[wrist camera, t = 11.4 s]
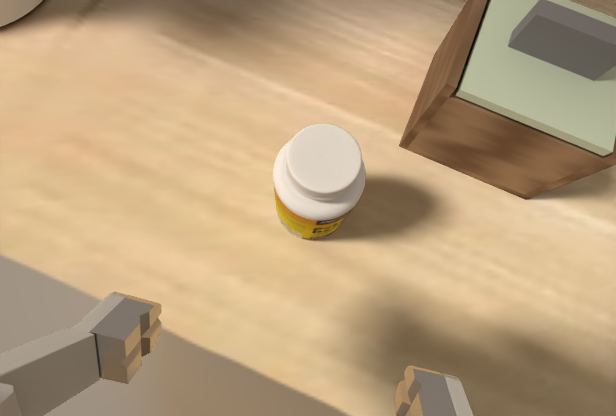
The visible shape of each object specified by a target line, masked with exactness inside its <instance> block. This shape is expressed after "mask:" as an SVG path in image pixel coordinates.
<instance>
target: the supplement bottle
mask: <svg viewBox="0 0 616 416" xmlns="http://www.w3.org/2000/svg"><path fill="white" fill-rule="evenodd" d="M365 181H366V173H365V167H364V163H363V160H362V155H361V150H360V147H359V145H358V143H357V142H356V140H355V139H354V137H353V136H352V135H351V134H350V133H349V132H347V131H346V130H344V129H343V128H341V127H338V126H336V125H332V124H326V123H320V124H314V125H310V126H308V127H305V128H304V129H302V130H300V131H299V132H298V133H297V134H296V135H295V136H294V137H293V139H291V140H290V141H289V142H288V143H286V144H285V145H284V147H283V148H282V149H281V150H280V152H279V153H278V155H277V158H276V160H275V163H274V169H273V183H274V191H275V200H276V209H277V214H278V218H279V220H280V222H281V224H282V225H283V227H284V228H285V229H286V230H287V231H288V232H289V233H291V234H292V235H294V236H296V237H298V238H301V239H305V240H317V239H321V238H324V237H326V236H328V235H329V234H331V233H332V232H333V231H334V230H335V229H336V228H337V227H338V226H339V225H340V224H341V222H342V221H343V220H344V219H345V217H346V216H347V215H348V214H349V212H350V211H351V210H352V209H353V207H354V206H355V205H356V203H357V202H358V200H359V199H360V197H361V195H362V193H363V190H364V187H365Z"/></svg>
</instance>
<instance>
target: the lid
mask: <svg viewBox="0 0 616 416" xmlns="http://www.w3.org/2000/svg"><path fill="white" fill-rule="evenodd" d="M455 96H458V97H460V98H463V99H465V100H468V101H470V102H473V103H475V104H477V105H480V106H482V107H485V108H487V109H490V110H492V111H495V112H497V113H499V114H502V115H504V116H507V117H509V118H512V119H514V120H517V121H519V122H521V123H524V124H526V125H529V126H531V127H534V128H536V129H538V130H541V131H543V132H546V133H548V134H551V135H553V136H556V137H558V138H560V139H563V140H565V141H568V142H570V143H573V144H575V145H578V146H580V147H582V148H585V149H587V150H590V151H592V152H595V153H597V154H600V155H602V156H605V155H607V154H609V153H612V152H613V148H614V142H615V136H616V18H614V17H611V16H609V15H606V14H604V13H601V12H598V11H596V10H593V9H591V8H588V7H585V6H583V5H580V4H578V3H575V2H572V1H570V0H489V2H488V4H487V7H486V10H485V13H484V16H483V19H482V21H481V24H480V27H479V30H478V33H477V36H476V38H475V41H474V44H473V47H472V50H471V53H470V56H469V58H468V61H467V64H466V67H465V70H464V73H463V75H462V78H461V81H460V84H459V87H458V90H457V93H456V95H455Z"/></svg>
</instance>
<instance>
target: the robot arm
mask: <svg viewBox="0 0 616 416" xmlns="http://www.w3.org/2000/svg"><path fill="white" fill-rule="evenodd" d="M41 1H42V0H0V27H1V26H4V25H6V24H9V23H11V22H13V21H15V20H17V19H19V18H21V17H22V16H24V15H25V14H27V13H28V12H30V11H31V10H33V9H34V8H35V7H36V6H37V5H38V4H39V3H41ZM160 314H161V304H159V303H155V302H152V301H148V300H145V299H141V298H137V297H134V296H129V295H126V294H122V293H118V292H113V293H111V294H109V295H108V296H107V297H106V298H105V299H104V300H102V301H101V302H100V303H99V304H98V305H97V306H96V307H95V308H94V309H93V310H92V311H91V312H89V313H88V314H87V315H86V316H85V317H84V318H83V319H82V320H81V321H80V322H79V323H78V324H76V325H75V326H74V327H73V328H65V329H62V330H59V331H57V332H55V333H52V334H49V335H47V336H44V337H42V338H39V339H37V340H34V341H31V342H29V343H26V344H24V345H21V346H19V347H16V348H14V349H11V350H8V351H6V352H4V353H1V354H0V416H44V415H45V414H47V413H48V412H50V411H51V410H53V409H55V408H56V407H58V406H59V405H61V404H62V403H64V402H66V401H67V400H69V399H70V398H72V397H73V396H75V395H76V394H78V393H80V392H81V391H83V390H84V389H86V388H88V387H89V386H91V385H92V384H94V383H95V382H97V381H99V380H100V378H103V379H107V380H112V381H116V382H121V383H125V384H128V383H129V382H130V380H131V379H132V378H133V376H134V375H135V373H136V372H137V371H138V369H139V368H140V366H141V365H142V360H141V357H143V356H145V355H147V354H149V353H150V352H151V351H152V349H153V348H154V346H155V345H156V343H157V340H158V338H159V336H160V332H161V321H160V320H159V319H158V316H159V315H160ZM404 376H405V380H403V381H401V382H399V384H398V387H397V389H396V394H395V412H396V416H473V413H472V410H471V407H470V405H469V402H468V399H467V397H466V394H465V391H464V389H463V386H462V383H461V381H460V379H459V378H458V377H457V376H453V375H449V374H445V373H440V372H437V371H433V370H428V369H424V368H420V367H416V366H411V365H409V366H408V367H407V368H406V370H405V372H404Z"/></svg>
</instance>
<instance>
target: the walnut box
mask: <svg viewBox="0 0 616 416" xmlns="http://www.w3.org/2000/svg"><path fill="white" fill-rule="evenodd" d="M488 2H489V0H468V1H467V3H466V4H465V6H464V8H463V9H462V11H461V13H460V14H459V16H458V17H457V19H456V21H455V22H454V24H453V26H452V27H451V29H450V30H449V32H448V34H447V35H446V37H445V38H444V40H443V42H442V43H441V45H440V47H439V48H438V50H437V51H436V53H435V55H434V57H433V60H432V63H431V65H430V68H429V70H428V73H427V75H426V78H425V80H424V83H423V86H422V88H421V91H420V93H419V96H418V98H417V101H416V103H415V106H414V109H413V111H412V114H411V116H410V119H409V121H408V124H407V126H406V129H405V131H404V134H403V137H402V139H401V142H400V144H399V146H400V147H403V148H405V149H407V150H410V151H412V152H414V153H417V154H419V155H421V156H424V157H426V158H429V159H431V160H433V161H436V162H438V163H440V164H443V165H445V166H448V167H450V168H452V169H455V170H457V171H459V172H462V173H464V174H466V175H469V176H471V177H474V178H476V179H478V180H481V181H483V182H485V183H488V184H490V185H493V186H495V187H497V188H500V189H502V190H504V191H507V192H509V193H511V194H514V195H516V196H519V197H521V198H523V199H529V198H531V197H534V196H537V195H539V194H542V193H544V192H547V191H549V190H552V189H555V188H557V187H560V186H562V185H565V184H567V183H570V182H572V181H575V180H578V179H580V178H583V177H585V176H588V175H590V174H593V173H596V172H598V171H601V170H603V169H606V168H608V167H611V166H614V165H616V136H615V142H614V148H613V152H612V153H609V154H607V155H605V156H602V155H600V154H597V153H595V152H592V151H590V150H587V149H585V148H582V147H580V146H578V145H575V144H573V143H570V142H568V141H565V140H563V139H560V138H558V137H556V136H553V135H551V134H548V133H546V132H543V131H541V130H538V129H536V128H534V127H531V126H529V125H526V124H524V123H521V122H519V121H517V120H514V119H512V118H509V117H507V116H504V115H502V114H499V113H497V112H495V111H492V110H490V109H487V108H485V107H482V106H480V105H477V104H475V103H473V102H470V101H468V100H465V99H463V98H460V97H458V96H455V95H456V93H457V92H456V91H454V90H455V89H456V88H457V85H458V82H459V79H460V76H461V73H462V71H463V68H464V65H466V64H467V61H468V58H469V56H470V53H471V50H472V47H473V44H474V41H475V38H476V36H477V33H478V30H479V27H480V24H481V21H482V19H483V16H484V13H485V10H486V7H487V4H488Z"/></svg>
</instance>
